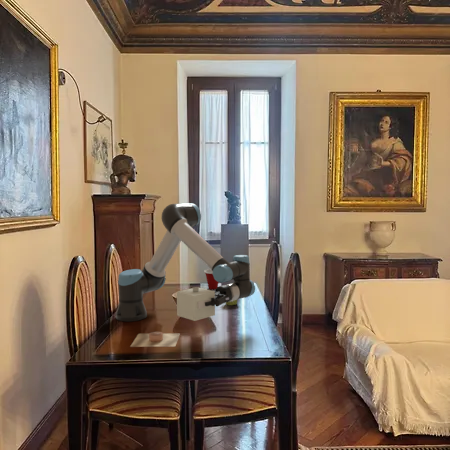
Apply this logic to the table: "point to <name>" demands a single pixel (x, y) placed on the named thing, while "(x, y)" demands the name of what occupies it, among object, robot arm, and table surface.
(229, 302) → the plant pot
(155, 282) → the robot arm
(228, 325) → the table surface
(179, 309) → the white cube
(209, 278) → the plastic cup
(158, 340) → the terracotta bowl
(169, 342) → the maple board
